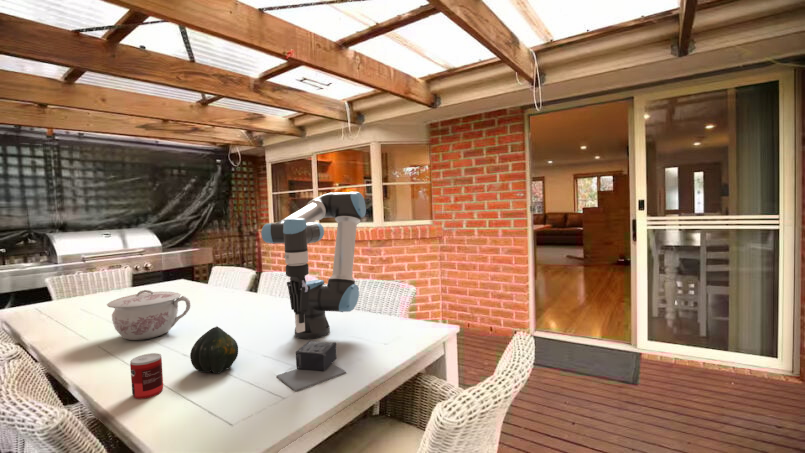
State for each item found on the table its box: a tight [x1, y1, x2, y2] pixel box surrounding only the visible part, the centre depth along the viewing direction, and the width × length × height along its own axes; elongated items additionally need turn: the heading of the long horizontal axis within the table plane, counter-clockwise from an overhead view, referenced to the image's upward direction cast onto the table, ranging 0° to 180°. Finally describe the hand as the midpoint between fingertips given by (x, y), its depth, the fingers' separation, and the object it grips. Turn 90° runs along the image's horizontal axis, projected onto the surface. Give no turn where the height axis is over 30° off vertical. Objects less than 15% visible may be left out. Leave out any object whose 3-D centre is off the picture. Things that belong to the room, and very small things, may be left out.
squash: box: [189, 325, 239, 374], centre depth 130 cm, size 14×15×15 cm
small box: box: [295, 340, 337, 371], centre depth 129 cm, size 11×6×10 cm
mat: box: [276, 363, 347, 392], centre depth 123 cm, size 14×18×1 cm
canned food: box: [129, 352, 164, 400], centre depth 113 cm, size 8×8×11 cm
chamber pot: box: [106, 289, 192, 341], centre depth 168 cm, size 28×28×21 cm
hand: (300, 331), depth 128 cm, fingers closed
